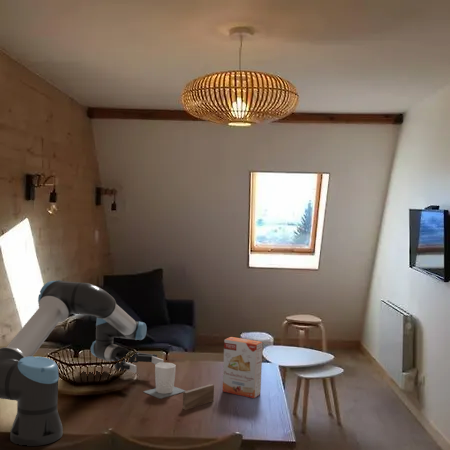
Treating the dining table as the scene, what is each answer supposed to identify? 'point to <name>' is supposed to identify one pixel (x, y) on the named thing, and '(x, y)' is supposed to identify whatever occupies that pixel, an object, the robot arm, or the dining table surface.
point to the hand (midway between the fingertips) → (149, 366)
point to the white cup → (165, 377)
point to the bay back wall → (198, 396)
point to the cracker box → (242, 367)
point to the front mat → (160, 396)
